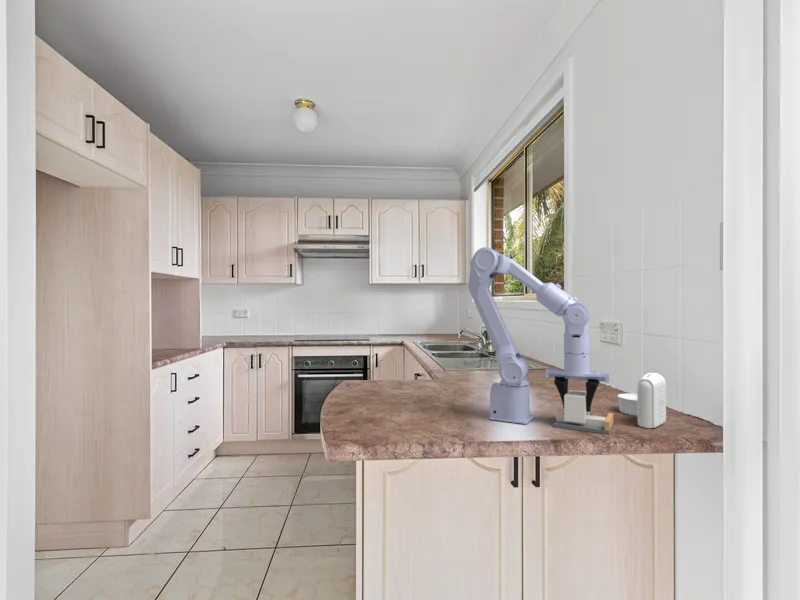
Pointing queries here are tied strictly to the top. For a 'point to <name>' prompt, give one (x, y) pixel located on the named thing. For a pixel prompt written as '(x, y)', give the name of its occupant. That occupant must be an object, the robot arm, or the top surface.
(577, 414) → the block
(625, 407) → the ramekin
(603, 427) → the rail mount
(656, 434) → the top surface
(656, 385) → the photo printer
